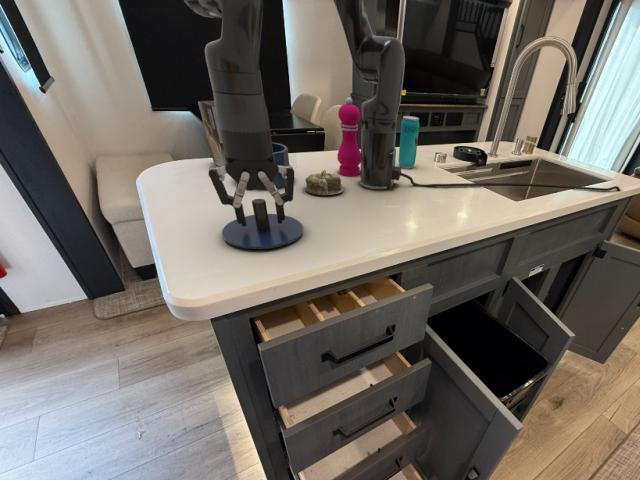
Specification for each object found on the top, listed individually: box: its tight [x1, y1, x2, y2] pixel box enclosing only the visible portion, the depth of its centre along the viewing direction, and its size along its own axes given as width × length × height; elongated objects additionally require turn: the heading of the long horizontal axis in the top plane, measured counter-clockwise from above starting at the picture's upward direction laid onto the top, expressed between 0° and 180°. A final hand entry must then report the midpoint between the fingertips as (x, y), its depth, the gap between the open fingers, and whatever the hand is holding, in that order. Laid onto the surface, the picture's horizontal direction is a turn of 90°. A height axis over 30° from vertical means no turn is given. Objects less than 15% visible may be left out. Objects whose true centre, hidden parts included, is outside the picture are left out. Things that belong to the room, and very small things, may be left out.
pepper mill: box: [336, 96, 361, 177], centre depth 93 cm, size 7×7×20 cm
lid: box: [221, 198, 304, 250], centre depth 61 cm, size 15×15×7 cm
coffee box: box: [197, 100, 227, 167], centre depth 90 cm, size 9×6×16 cm
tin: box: [255, 141, 291, 191], centre depth 84 cm, size 14×14×8 cm
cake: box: [305, 169, 345, 196], centre depth 84 cm, size 10×10×5 cm
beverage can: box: [398, 115, 420, 170], centre depth 106 cm, size 6×6×15 cm
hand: (262, 223), depth 62 cm, fingers open, 5 cm apart
